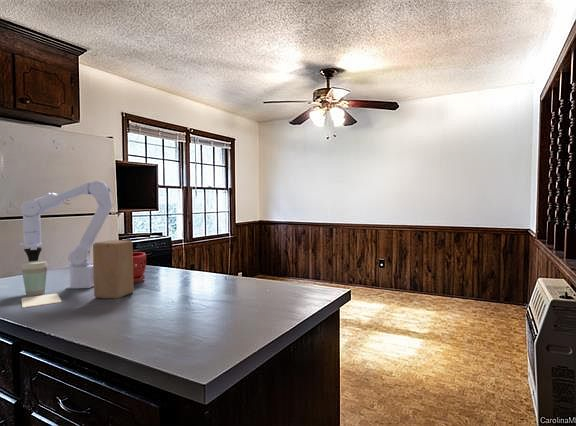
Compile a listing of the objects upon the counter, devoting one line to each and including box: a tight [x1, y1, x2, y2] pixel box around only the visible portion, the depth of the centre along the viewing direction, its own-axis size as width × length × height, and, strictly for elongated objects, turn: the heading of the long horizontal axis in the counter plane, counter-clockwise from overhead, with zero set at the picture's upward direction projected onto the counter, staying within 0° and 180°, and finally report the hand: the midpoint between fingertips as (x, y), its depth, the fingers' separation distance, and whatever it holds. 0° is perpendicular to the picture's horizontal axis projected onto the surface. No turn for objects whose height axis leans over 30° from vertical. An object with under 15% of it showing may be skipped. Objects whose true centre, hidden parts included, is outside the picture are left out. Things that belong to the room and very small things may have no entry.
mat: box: [20, 293, 63, 309], centre depth 129 cm, size 14×11×1 cm
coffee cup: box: [20, 260, 49, 297], centre depth 139 cm, size 9×8×12 cm
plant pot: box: [133, 251, 147, 284], centre depth 159 cm, size 13×13×12 cm
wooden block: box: [92, 239, 135, 300], centre depth 136 cm, size 10×10×20 cm
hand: (33, 266), depth 145 cm, fingers closed
